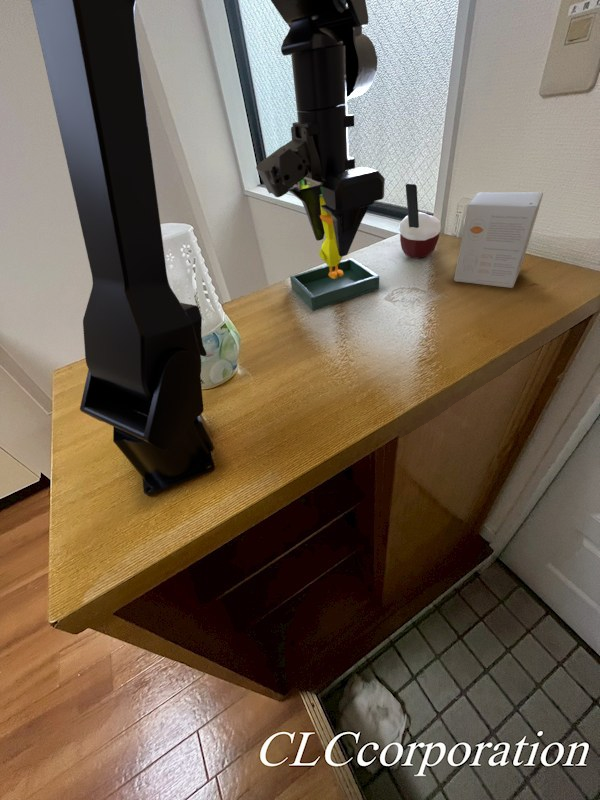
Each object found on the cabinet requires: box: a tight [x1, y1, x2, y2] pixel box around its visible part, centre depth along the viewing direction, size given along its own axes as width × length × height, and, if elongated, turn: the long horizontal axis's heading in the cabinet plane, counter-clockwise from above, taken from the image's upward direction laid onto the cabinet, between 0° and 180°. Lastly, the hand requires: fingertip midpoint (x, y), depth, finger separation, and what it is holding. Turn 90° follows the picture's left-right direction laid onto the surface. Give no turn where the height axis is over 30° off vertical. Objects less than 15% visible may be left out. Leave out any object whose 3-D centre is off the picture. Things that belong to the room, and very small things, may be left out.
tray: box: [289, 257, 380, 312], centre depth 54 cm, size 11×9×2 cm
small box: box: [454, 191, 544, 289], centre depth 47 cm, size 8×6×10 cm
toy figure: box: [318, 186, 344, 279], centre depth 48 cm, size 7×4×12 cm, turn 28°
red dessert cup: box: [398, 183, 442, 259], centre depth 55 cm, size 10×6×12 cm, turn 119°
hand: (330, 247), depth 50 cm, fingers closed on toy figure, 7 cm apart
